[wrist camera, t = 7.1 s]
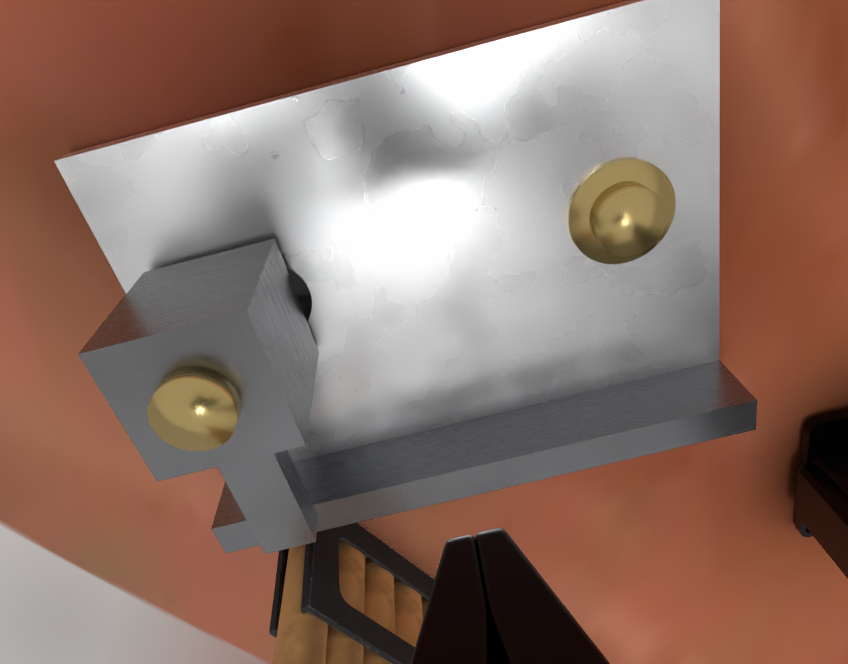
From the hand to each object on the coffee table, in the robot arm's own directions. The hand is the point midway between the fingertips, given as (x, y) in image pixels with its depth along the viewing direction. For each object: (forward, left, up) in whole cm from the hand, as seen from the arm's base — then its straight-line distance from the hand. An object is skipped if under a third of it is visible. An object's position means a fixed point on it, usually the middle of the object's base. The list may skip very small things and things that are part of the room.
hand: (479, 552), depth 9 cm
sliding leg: (+6, +2, -11) cm, 13 cm away
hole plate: (0, +1, -12) cm, 12 cm away
